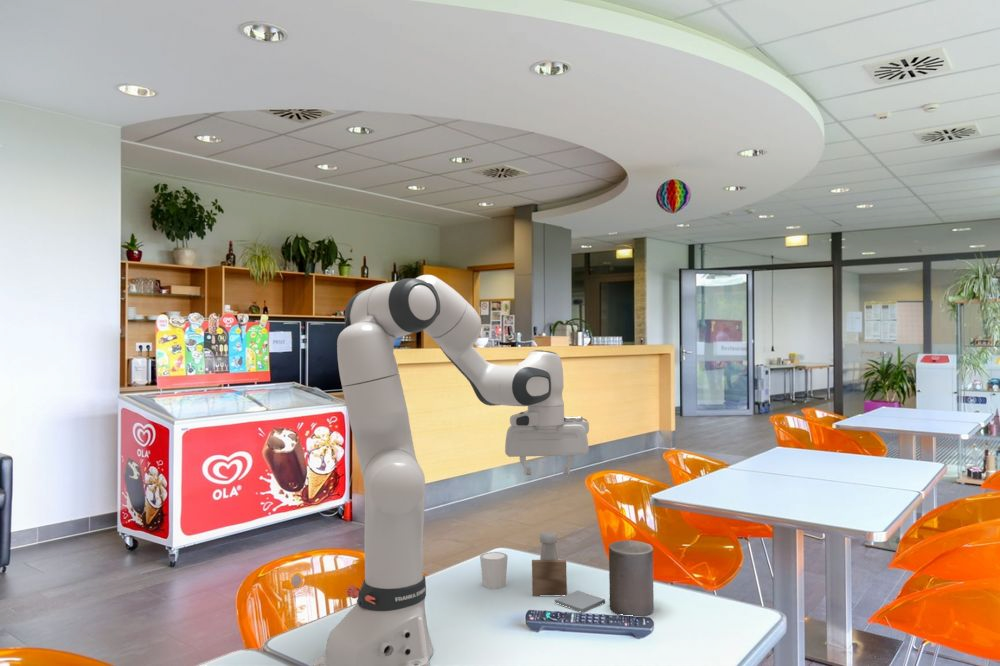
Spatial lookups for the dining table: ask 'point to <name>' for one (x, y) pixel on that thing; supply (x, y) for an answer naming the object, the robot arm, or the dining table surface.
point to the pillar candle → (631, 578)
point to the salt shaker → (548, 546)
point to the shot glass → (494, 569)
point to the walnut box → (549, 577)
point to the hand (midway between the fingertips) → (547, 474)
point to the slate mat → (580, 601)
